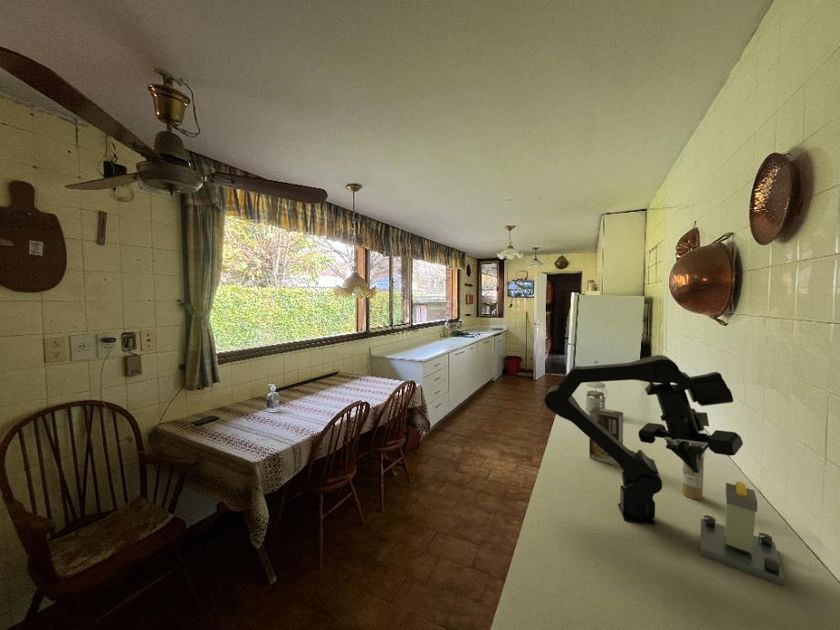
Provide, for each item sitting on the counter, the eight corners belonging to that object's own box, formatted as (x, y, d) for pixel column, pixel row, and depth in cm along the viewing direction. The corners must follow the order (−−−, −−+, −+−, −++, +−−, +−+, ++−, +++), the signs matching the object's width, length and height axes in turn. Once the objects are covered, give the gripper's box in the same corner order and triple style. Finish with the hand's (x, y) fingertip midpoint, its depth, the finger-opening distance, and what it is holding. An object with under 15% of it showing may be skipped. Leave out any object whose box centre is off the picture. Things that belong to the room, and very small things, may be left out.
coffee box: (623, 459, 110) (624, 412, 109) (619, 466, 105) (619, 417, 105) (593, 451, 116) (594, 406, 116) (588, 457, 112) (588, 411, 111)
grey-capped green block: (724, 543, 69) (727, 487, 69) (723, 530, 74) (726, 476, 73) (754, 554, 67) (757, 495, 66) (751, 539, 71) (754, 484, 70)
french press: (578, 411, 156) (579, 359, 154) (595, 408, 161) (596, 357, 159) (597, 418, 147) (598, 363, 146) (614, 414, 152) (615, 360, 150)
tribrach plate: (700, 554, 70) (700, 540, 69) (700, 524, 79) (701, 512, 78) (784, 586, 62) (785, 571, 62) (774, 548, 71) (774, 535, 71)
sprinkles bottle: (677, 491, 92) (678, 444, 91) (692, 489, 92) (693, 443, 92) (692, 501, 88) (693, 451, 87) (707, 499, 88) (709, 450, 87)
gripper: (739, 397, 73) (762, 464, 73) (649, 394, 90) (668, 449, 89) (720, 417, 68) (745, 490, 67) (628, 410, 84) (648, 469, 84)
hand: (697, 472), depth 77 cm, fingers closed
